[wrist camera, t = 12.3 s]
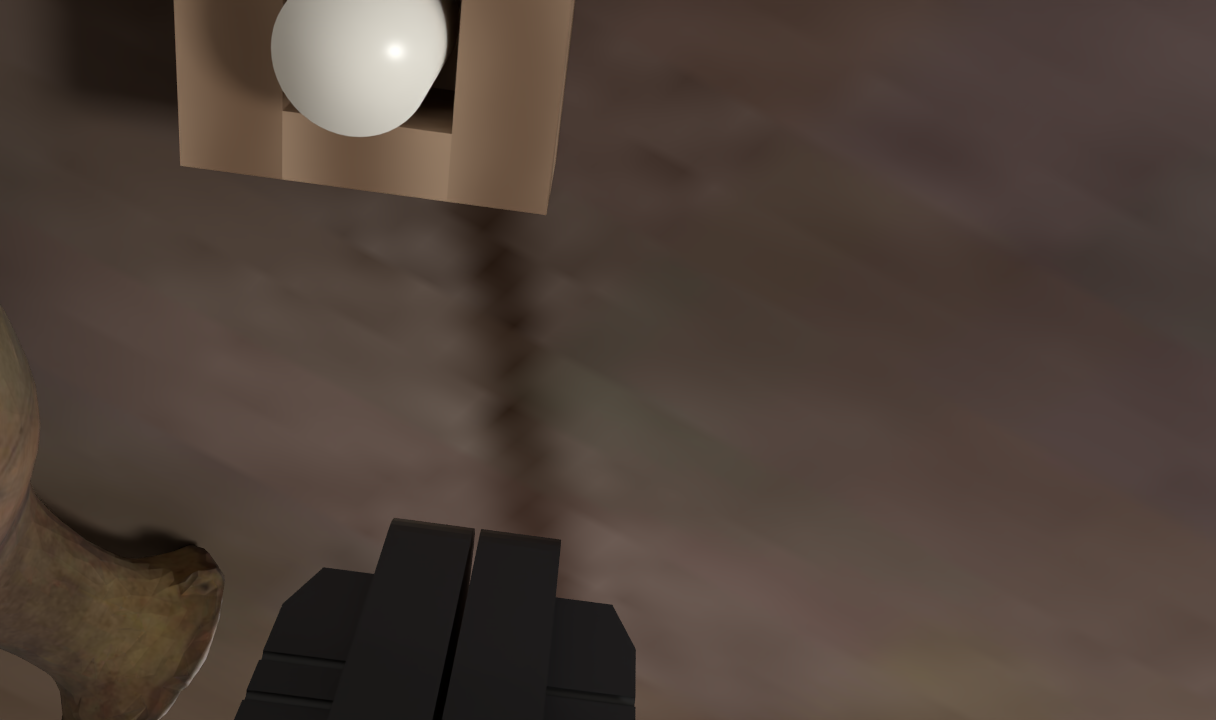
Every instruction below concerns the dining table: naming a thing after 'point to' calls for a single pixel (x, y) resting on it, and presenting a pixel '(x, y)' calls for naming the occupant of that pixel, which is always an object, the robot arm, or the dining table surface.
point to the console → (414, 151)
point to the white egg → (361, 59)
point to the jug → (91, 587)
